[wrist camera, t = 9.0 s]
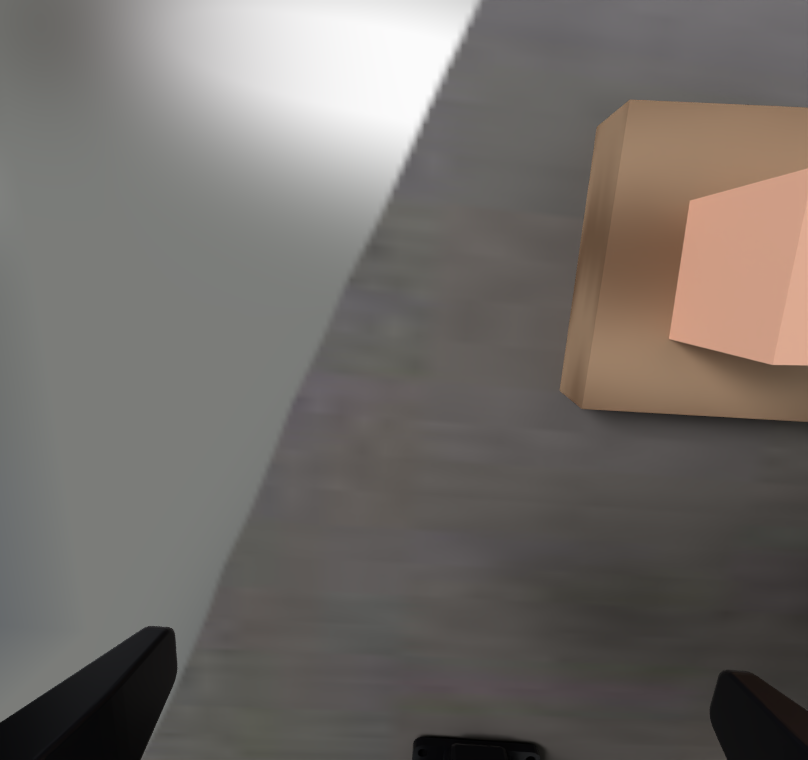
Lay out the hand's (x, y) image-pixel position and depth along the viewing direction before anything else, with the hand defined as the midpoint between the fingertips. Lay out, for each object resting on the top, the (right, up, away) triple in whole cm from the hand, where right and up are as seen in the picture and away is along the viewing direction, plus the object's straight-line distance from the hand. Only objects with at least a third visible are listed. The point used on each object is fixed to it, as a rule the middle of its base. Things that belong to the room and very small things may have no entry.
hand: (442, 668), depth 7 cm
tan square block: (+11, +9, +10) cm, 18 cm away
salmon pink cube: (+11, +8, +7) cm, 16 cm away
